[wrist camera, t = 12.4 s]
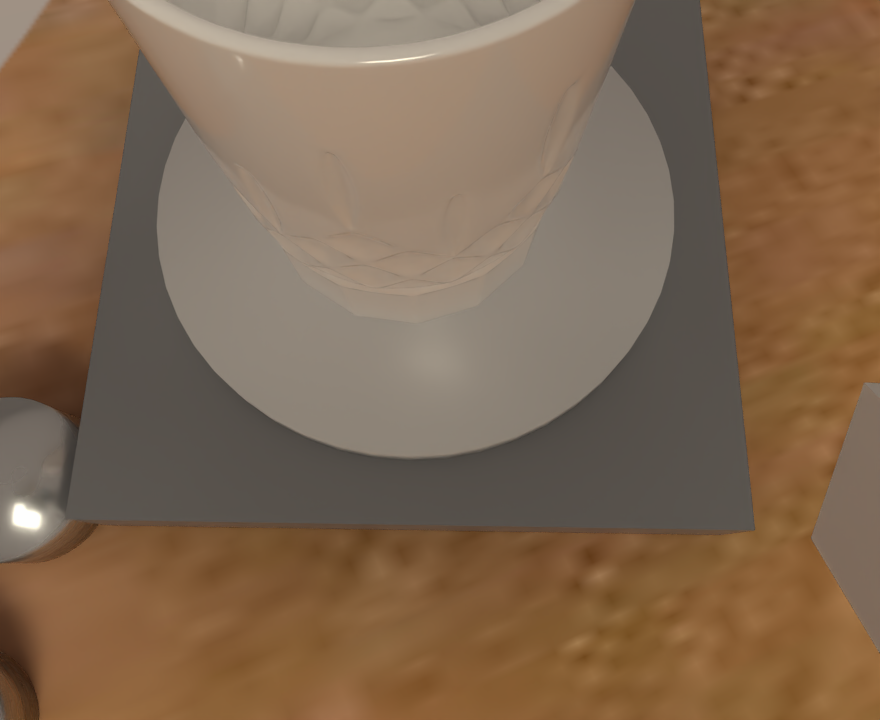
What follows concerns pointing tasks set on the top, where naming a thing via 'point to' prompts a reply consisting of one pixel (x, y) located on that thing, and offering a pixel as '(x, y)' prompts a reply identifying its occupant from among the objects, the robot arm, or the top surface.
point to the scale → (430, 347)
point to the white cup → (388, 129)
